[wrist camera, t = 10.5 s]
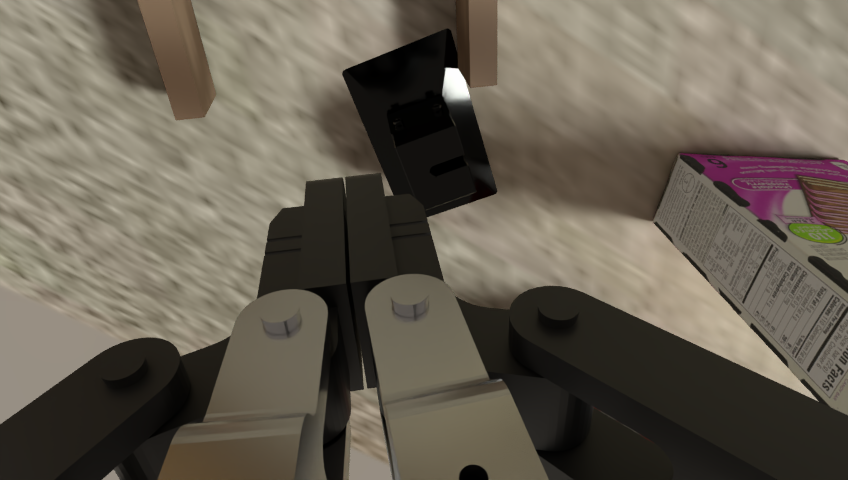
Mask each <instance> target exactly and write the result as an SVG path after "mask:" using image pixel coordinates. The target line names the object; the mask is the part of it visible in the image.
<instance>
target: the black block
mask: <svg viewBox="0 0 848 480" xmlns="http://www.w3.org/2000/svg"><path fill="white" fill-rule="evenodd" d="M342 75H343V77H344V80H345V82H346V84H347V87H348V89H349V91H350V94H351V96H352V98H353V101H354V103H355V105H356V108H357V110H358V113H359V115H360V117H361V120H362V122H363V124H364V127H365V129H366V131H367V134H368V136H369V138H370V141H371V143H372V145H373V148H374V150H375V153H376V155H377V157H378V160H379V162H380V164H381V167H382V169H383V171H384V174H385V176H386V178H387V181H388V183H389V185H390V188H391V190H392V192H393V195H402V194H411V195H412V196H413V197H414V198H415V199H416V200H418V201H419V202H420V203H421V204H422V205H423V206H424V210H425V213H426V217H429V216H432V215H435V214H438V213H441V212H444V211H447V210H450V209H453V208H456V207H459V206H462V205H465V204H468V203H471V202H473V201H476V200H479V199H482V198H485V197H488V196H491V195H494V194H496V193H497V189H496V185H495V182H494V178H493V175H492V171H491V168H490V165H489V161H488V158H487V154H486V151H485V147H484V144H483V140H482V137H481V133H480V130H479V126H478V123H477V120H476V116H475V113H474V109H473V106H472V102H471V99H470V95H469V92H468V88H467V85H466V81H465V79H464V77H463V76H462V74H461V72H460V71H459V69H458V54H457V50H456V47H455V43H454V40H453V36H452V33H451V30H449V29H445V30H442V31H440V32H437V33H435V34H432V35H430V36H427V37H425V38H422V39H420V40H417V41H415V42H412V43H410V44H407V45H405V46H402V47H400V48H398V49H395V50H393V51H390V52H388V53H385V54H383V55H380V56H378V57H375V58H373V59H370V60H368V61H365V62H363V63H360V64H358V65H355V66H353V67H350V68H348V69H346V70H344V71H343V73H342Z"/></svg>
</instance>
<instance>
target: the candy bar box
mask: <svg viewBox="0 0 848 480" xmlns="http://www.w3.org/2000/svg"><path fill="white" fill-rule="evenodd" d="M653 223H654V224H655V225H656V226H657V227H658V228H659V229H660V230H661V231H662V233H663V234H664V235H665V236H666V237H667V238H668V239H669V240H670V241H671V242H672V243H673V245H674V246H675V247H676V248H677V249H678V250H679V251H680V252H681V253H682V254H683V255H684V256H685V257H686V258H687V259H688V260H689V262H690V263H691V264H692V265H693V266H694V267H695V268H696V269H697V270H698V271H699V272H700V274H701V275H702V276H703V277H704V278H705V279H706V280H707V281H708V282H709V283H710V284H711V286H712V287H713V288H714V289H715V290H716V291H717V292H718V293H719V294H720V295H721V296H722V297H723V298H724V299H725V300H726V301H727V302H728V303H729V304H730V306H731V307H732V308H733V310H735V311H736V313H737V314H738V315H739V316H740V317H741V318H742V319H743V320H744V321H745V322H746V323H747V324H748V326H749V327H750V328H751V329H752V330H753V331H754V332H755V333H756V334H757V335H758V336H759V337H760V338H761V339H762V340H763V341H764V342H765V344H766V345H767V346H768V347H769V348H770V349H771V350H772V351H773V352H774V353H775V354H776V355H777V356H778V357H779V359H780V360H781V361H782V362H783V363H784V364H785V365H786V366H787V367H788V368H789V369H790V370H791V372H792V373H793V374H794V375H795V376H796V377H797V378H798V379H799V380H800V381H801V383H802V384H803V385H804V386H805V387H806V388H807V389H808V390H809V391H810V392H811V393H812V394H813V395H814V396H815V398H816V399H817V400H818V401H819V402H820V403H822V404H825V405H827V406H829V407H831V408H833V409H835V410H838V411H840V412H842V413H844V414H846V415H848V162H847V161H845V160H830V159H800V158H774V157H753V156H729V155H705V154H686V153H679V154H678V155H677V158H676V160H675V162H674V164H673V167H672V169H671V172H670V176H669V179H668V182H667V185H666V188H665V191H664V193H663V196H662V198H661V201H660V203H659V206H658V208H657V211H656V214H655V217H654V219H653Z"/></svg>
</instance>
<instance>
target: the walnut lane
mask: <svg viewBox="0 0 848 480" xmlns="http://www.w3.org/2000/svg"><path fill="white" fill-rule="evenodd" d="M137 1H138V4H139V7H140V10H141V13H142V16H143V19H144V23H145V26H146V29H147V32H148V35H149V38H150V41H151V44H152V48H153V51H154V54H155V57H156V60H157V63H158V66H159V69H160V72H161V76H162V79H163V82H164V85H165V88H166V91H167V94H168V97H169V101H170V104H171V107H172V110H173V113H174V116H175V119H176V120H183V119H193V118H202V117H205V115H206V113H207V111H208V110H209V108H210V106H211V104H212V102H213V100H214V98H215V96H216V92H215V88H214V84H213V81H212V77H211V73H210V70H209V66H208V62H207V59H206V55H205V51H204V48H203V44H202V40H201V37H200V33H199V29H198V26H197V22H196V18H195V15H194V11H193V7H192V3H191V0H137ZM456 23H457V53H458V69H459V71H460V72H461V74H462V76H463V77H464V79H465V80H466V82H467V83H468V85H469V86H470V88H474V87H483V86H493V85H497V0H456Z"/></svg>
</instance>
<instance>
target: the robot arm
mask: <svg viewBox="0 0 848 480" xmlns="http://www.w3.org/2000/svg"><path fill="white" fill-rule="evenodd" d="M345 180H346V194H345V187H344V181H343V178H333V179H324V180H315V181H307V182H306V189H305V202H304V206H300V207H291V208H283V209H282V210H281V211H280V212H279V213H278V215H277V216H276V217H275V218H274V219H273V220H272V221H271V223H270V225H269V231H268V237H267V243H266V248H265V256H264V260H263V266H262V272H261V278H260V284H259V290H258V296H257V299H256V300H254V301H253V302H251V303H250V304H249V305H247V306H246V307H245V308H244V309H243V310H242V311H241V313H240V314H239V315H238V317H237V319H236V321H235V324H234V327H233V331H232V334H231V336H230V337H228V338H226V339H224V340H222V341H220V342H218V343H216V344H213V345H211V346H208V347H205V348H203V349H200V350H197V351H194V352H192V353H189V354H186V355H183V356H180V354H179V352H178V350H177V348H176V347H175V346H174V345H173V344H172V343H170V342H169V341H166V340H163V339H159V338H139V339H134V340H129V341H126V342H123V343H120V344H118V345H115V346H113V347H111V348H109V349H107V350H105V351H103V352H102V353H100V354H99V355H97V356H96V357H94V358H93V359H91V360H90V361H88V363H86V364H84V365H83V366H82V367H80V368H79V369H77V370H76V371H74V372H73V373H72V374H70V375H69V376H68V377H66V378H65V379H63V380H62V381H60V382H59V383H58V384H56V385H55V386H53V387H52V388H51V389H49V390H48V391H46V392H45V393H44V394H42V395H41V396H39V397H38V398H37V399H36V400H34V401H33V402H31V403H30V404H28V405H27V406H26V407H24V408H23V409H21V410H20V411H19V412H17V413H16V414H14V415H13V416H11V417H10V418H9V419H7V420H6V421H4V422H3V423H2V424H0V480H102V479H103V478H104V477H105V476H106V475H108V474H109V473H110V472H111V471H112V470H113V469H114V470H115V472H116V474H117V475H118V477H119V479H120V480H349V463H350V444H351V426H350V421H349V418H350V414H351V398H350V391H356V390H363V389H364V386H363V370H362V357H363V363H364V370H365V376H366V382H367V388H375V387H377V393H378V400H379V406H380V414H381V420H382V427H383V433H384V438H385V443H386V449H387V454H388V459H389V465H390V470H391V475H392V480H848V415H846V414H844V413H842V412H840V411H838V410H835V409H833V408H831V407H829V406H827V405H825V404H822V403H820V402H818V401H816V400H814V399H812V398H809V397H807V396H805V395H803V394H801V393H799V392H797V391H794V390H792V389H790V388H788V387H786V386H784V385H781V384H779V383H777V382H775V381H773V380H771V379H768V378H766V377H764V376H762V375H760V374H758V373H756V372H753V371H751V370H749V369H747V368H745V367H743V366H740V365H738V364H736V363H734V362H732V361H730V360H728V359H725V358H723V357H721V356H719V355H717V354H715V353H712V352H710V351H708V350H706V349H704V348H702V347H699V346H697V345H695V344H693V343H691V342H689V341H687V340H684V339H682V338H680V337H678V336H676V335H674V334H671V333H669V332H667V331H665V330H663V329H661V328H658V327H656V326H654V325H652V324H650V323H648V322H646V321H643V320H641V319H639V318H637V317H635V316H633V315H630V314H628V313H626V312H624V311H622V310H620V309H617V308H615V307H613V306H611V305H609V304H607V303H605V302H602V301H600V300H598V299H596V298H594V297H592V296H589V295H587V294H585V293H583V292H580V291H578V290H575V289H571V288H568V287H561V286H543V287H537V288H534V289H530V290H528V291H526V292H524V293H522V294H521V295H519V296H518V297H517V298H516V299H515V300H514V301H513V303H512V305H511V307H510V310H505V309H495V308H486V307H480V306H476V305H472V304H470V303H467V302H465V301H463V300H461V299H459V298H458V297H456V296H455V295H454V293H453V291H452V289H451V288H450V287H449V286H448V285H447V284H446V283H445V282H444V279H443V276H442V272H441V268H440V265H439V261H438V257H437V254H436V250H435V246H434V243H433V239H432V235H431V232H430V228H429V224H428V222H427V217H426V213H425V210H424V206H423V205H422V204H421V203H420V202H419V201H418V200H416V199H415V198H414V197H413V196H412V195H411V194H402V195H394V196H385V195H384V189H383V183H382V177H381V173H376V174H367V175H358V176H350V177H345ZM361 351H362V354H361ZM597 409H598V410H597ZM599 410H600V411H599ZM602 412H603V413H602ZM604 413H605V414H604ZM607 415H608V416H607ZM609 416H610V417H609ZM614 419H615V420H614ZM619 422H620V423H619ZM621 423H622V424H621ZM624 425H625V426H624ZM626 426H627V427H626ZM629 428H630V429H629ZM631 429H632V430H631ZM634 431H635V432H634ZM636 432H637V433H636ZM641 435H642V436H641ZM646 438H647V439H646ZM648 439H649V440H648ZM651 441H652V442H651Z"/></svg>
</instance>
